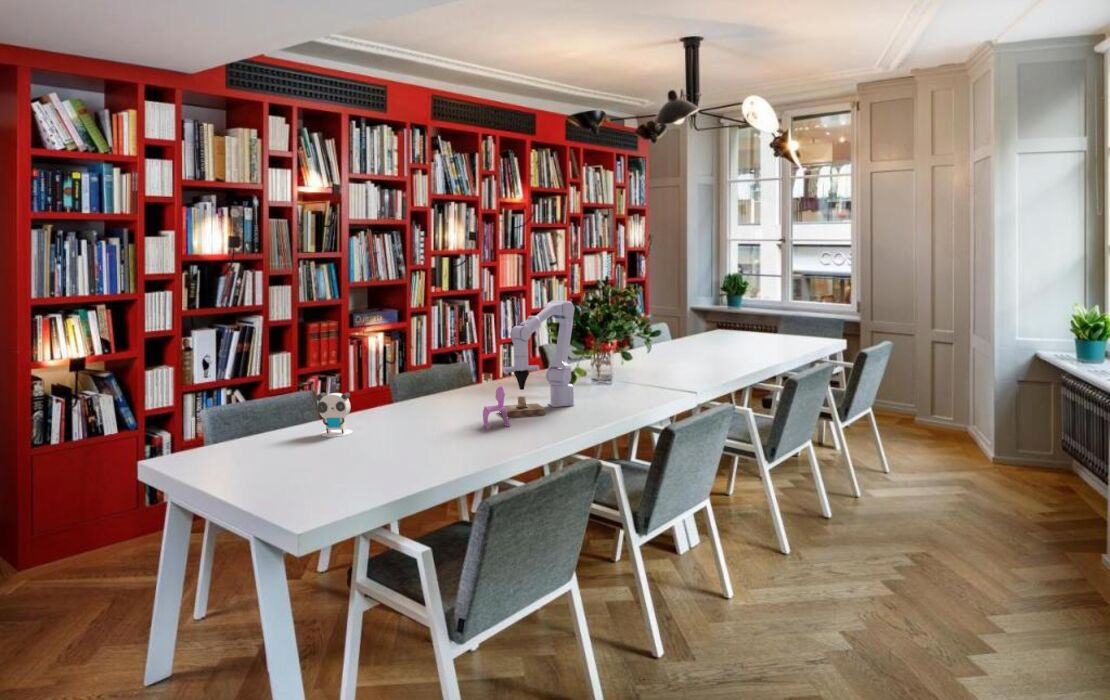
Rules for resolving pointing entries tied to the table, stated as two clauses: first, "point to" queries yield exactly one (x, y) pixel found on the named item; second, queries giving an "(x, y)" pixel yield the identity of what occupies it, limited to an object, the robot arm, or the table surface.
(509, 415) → the board
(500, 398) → the toy chair
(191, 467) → the table surface
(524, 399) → the peg
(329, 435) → the panda figurine
